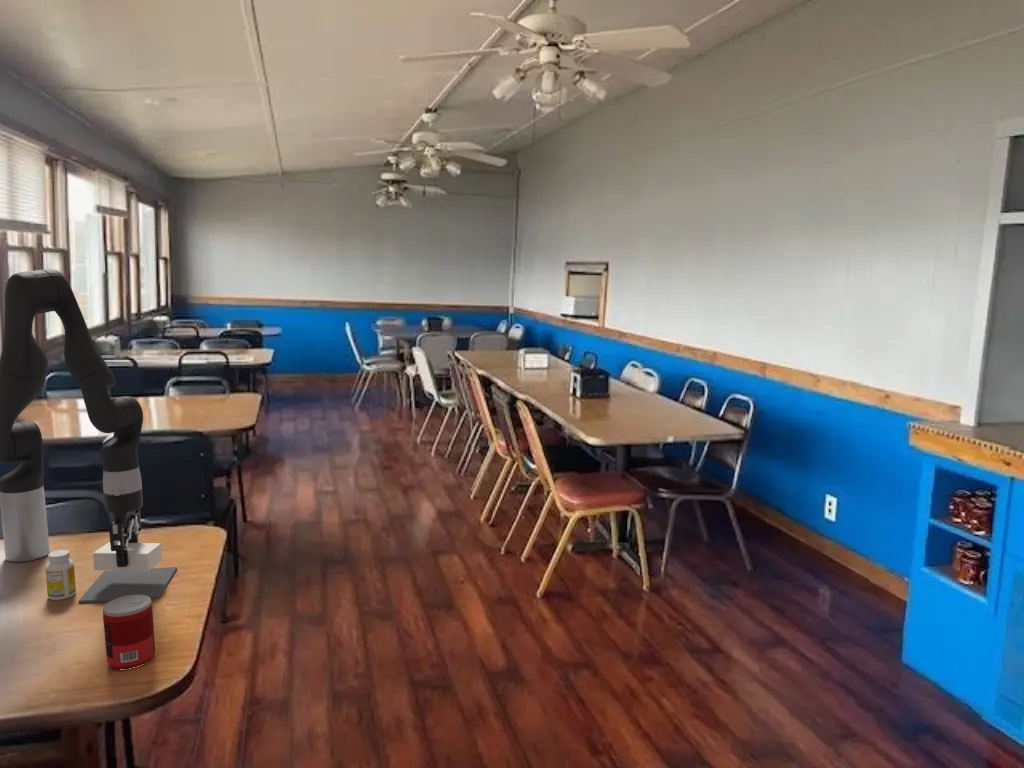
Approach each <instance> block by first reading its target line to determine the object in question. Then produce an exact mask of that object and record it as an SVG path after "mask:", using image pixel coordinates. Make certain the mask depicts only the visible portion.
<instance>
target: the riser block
mask: <svg viewBox="0 0 1024 768" xmlns="http://www.w3.org/2000/svg"><path fill="white" fill-rule="evenodd" d="M118 545H120V542H118ZM92 555H93V556H92V557H93V558H92V559H93V570H94V571H103V572H104V571H150V570H151V569H152V568H156V566H157V565H158V564H160V563H161V562H162V561H163V549H162V543H160V542H159V543H157V542H156V543H155V542H138V543H128V562H129V564H128V566H127V567H117V561H116V551H111V545H110V541H108V542H107V543H106V544H104V545H102V546H101V547H100V548H98V549H97V550H95V551H94V552H93V553H92Z"/></svg>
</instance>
